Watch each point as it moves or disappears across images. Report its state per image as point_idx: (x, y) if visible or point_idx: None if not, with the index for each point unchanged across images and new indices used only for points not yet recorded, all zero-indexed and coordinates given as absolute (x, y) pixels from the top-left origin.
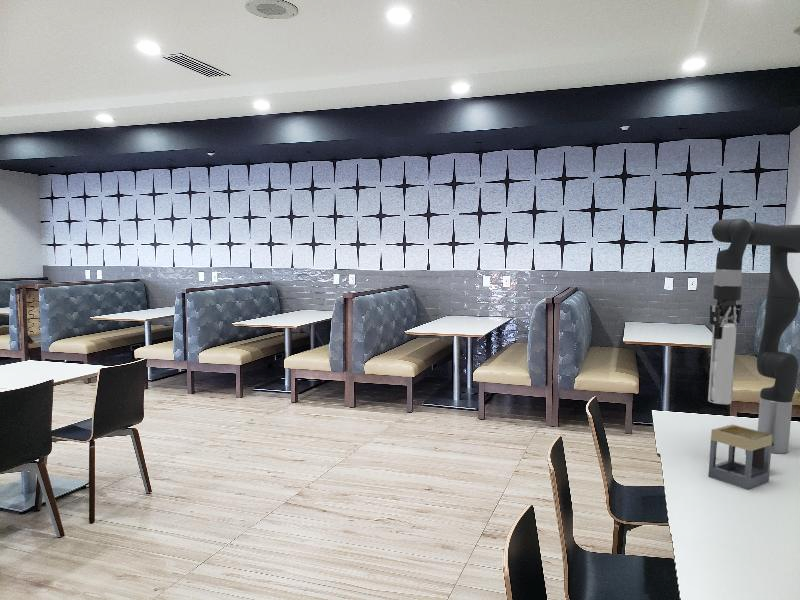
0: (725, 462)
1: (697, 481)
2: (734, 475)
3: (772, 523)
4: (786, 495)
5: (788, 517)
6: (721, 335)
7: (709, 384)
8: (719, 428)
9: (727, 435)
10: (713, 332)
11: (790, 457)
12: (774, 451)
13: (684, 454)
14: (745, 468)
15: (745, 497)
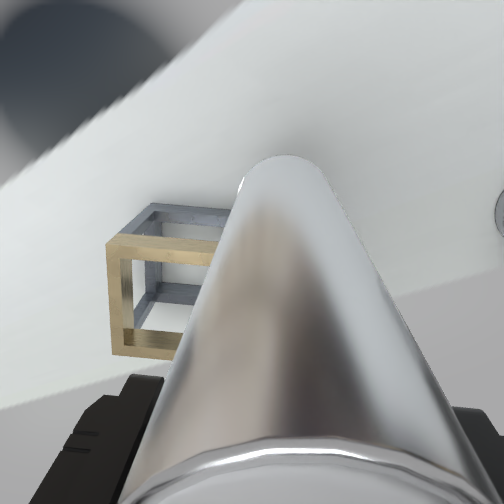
0: (212, 220)
1: (96, 203)
2: (146, 270)
3: (39, 370)
4: None
5: (89, 377)
6: None
7: (248, 182)
8: (145, 251)
9: (109, 291)
10: (173, 386)
11: (490, 264)
12: (499, 228)
13: (265, 70)
14: (138, 304)
15: (107, 302)
